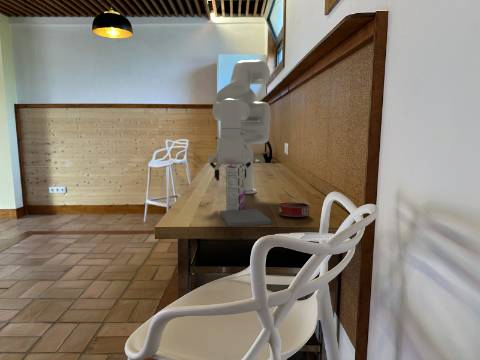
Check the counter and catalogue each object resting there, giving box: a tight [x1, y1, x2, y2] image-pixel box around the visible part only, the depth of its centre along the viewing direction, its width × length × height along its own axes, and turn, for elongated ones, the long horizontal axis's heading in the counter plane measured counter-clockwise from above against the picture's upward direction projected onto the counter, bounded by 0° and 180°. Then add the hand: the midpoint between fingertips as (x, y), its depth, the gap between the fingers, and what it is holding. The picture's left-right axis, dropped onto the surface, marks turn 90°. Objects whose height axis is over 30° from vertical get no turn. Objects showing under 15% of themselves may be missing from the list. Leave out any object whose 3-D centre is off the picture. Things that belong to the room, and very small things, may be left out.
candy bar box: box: [225, 164, 246, 210], centre depth 117 cm, size 11×5×16 cm, turn 169°
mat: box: [219, 208, 272, 227], centre depth 105 cm, size 16×13×1 cm
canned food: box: [278, 187, 310, 218], centre depth 108 cm, size 11×10×10 cm
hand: (230, 180), depth 124 cm, fingers open, 9 cm apart
